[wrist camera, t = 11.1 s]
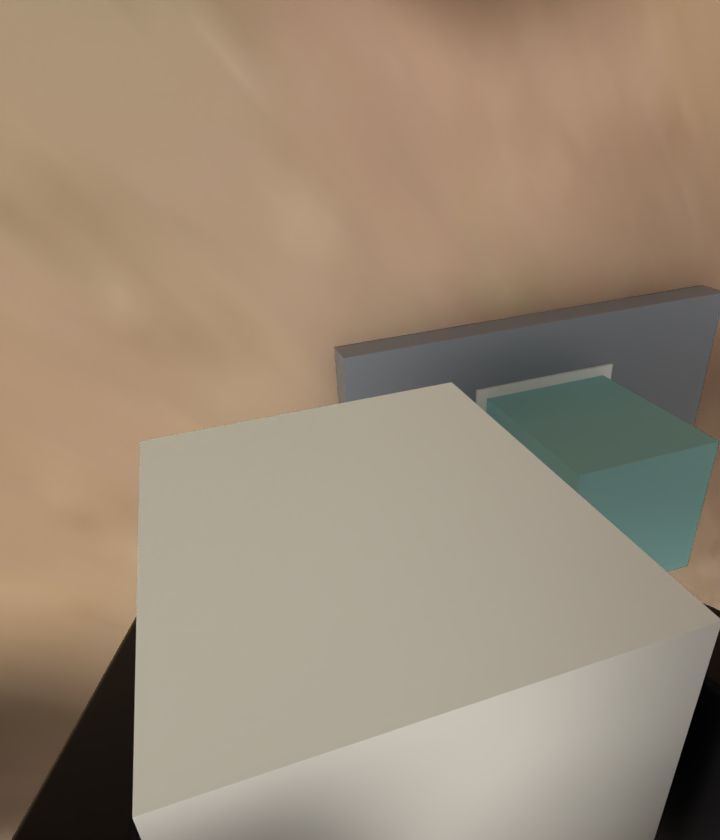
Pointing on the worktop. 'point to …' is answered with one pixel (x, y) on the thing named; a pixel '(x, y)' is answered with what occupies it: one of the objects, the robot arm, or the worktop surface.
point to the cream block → (398, 637)
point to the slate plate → (552, 352)
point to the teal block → (618, 458)
